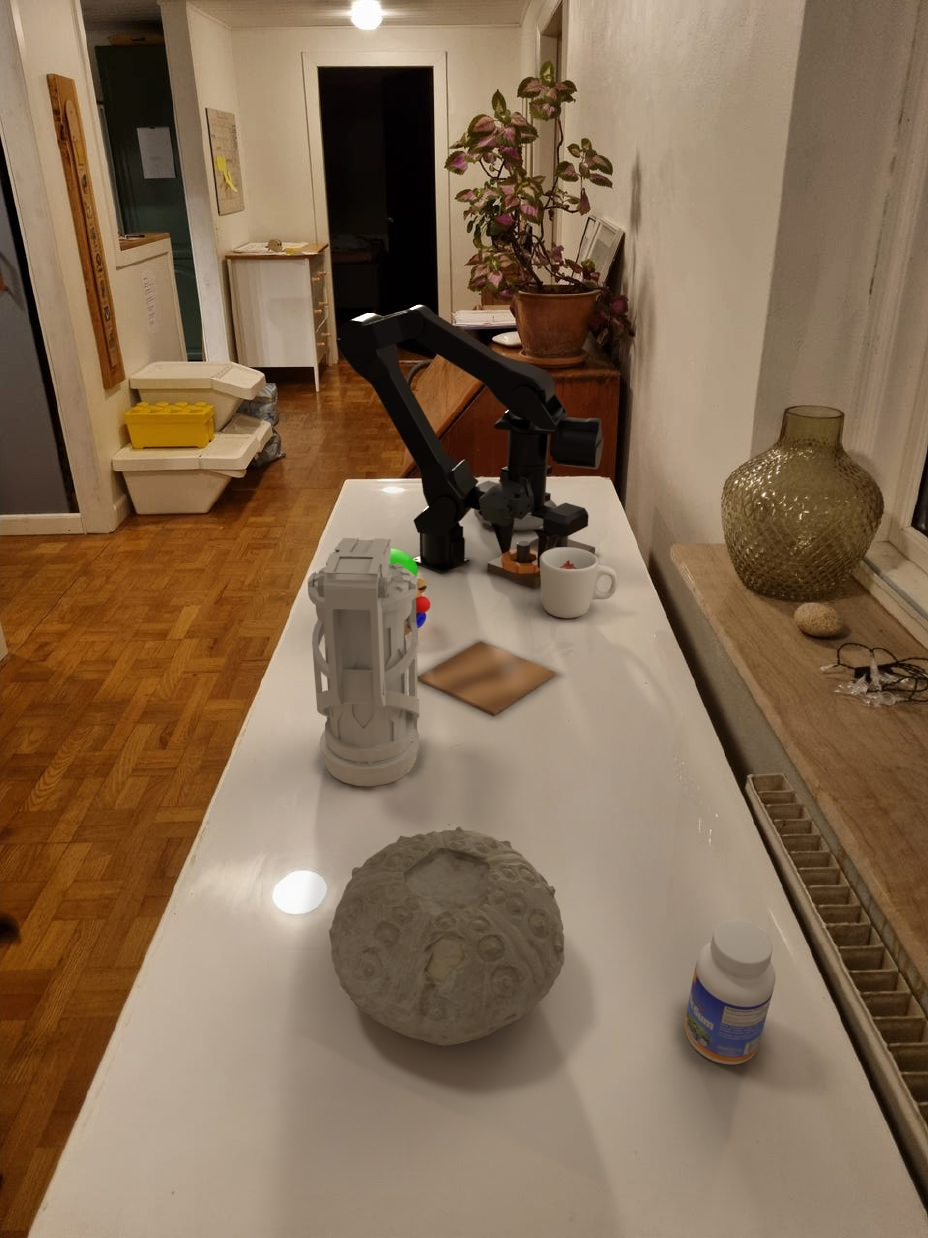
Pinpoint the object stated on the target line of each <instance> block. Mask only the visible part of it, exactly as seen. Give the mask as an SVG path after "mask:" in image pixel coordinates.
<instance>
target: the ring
mask: <svg viewBox="0 0 928 1238" xmlns="http://www.w3.org/2000/svg"><path fill="white" fill-rule="evenodd" d="M500 556H501V564H502V567H503V568H504V569H505V570H508V571H511V572H514V573H518V574H526V573H536V572H538V571H540V568H538V562H537V557H538V552H536V551H533V550H530V560H531V561H534V562H532V563H517V562H514V561H513V560H515V559H516V557H517V548H515V549H510V550H509V551H508V552H506V553H503V554H502V553H501V555H500Z"/></svg>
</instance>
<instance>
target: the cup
mask: <svg viewBox="0 0 928 1238" xmlns="http://www.w3.org/2000/svg"><path fill="white" fill-rule="evenodd" d="M540 576H541V585H540V591H541V592H540V593H541V603H542V607H543V609H544V610H545V612H546V613H547V614H550V615H551V616H554V617H556V618H562V619H574V618H578V617H581V616H583V615H585V614H586V613H587V612H588V611H589V609H590V606H591V604H592V602H593V601H595V600H608V599H610V598H612V597H613V596H614V595H615V593H616V591H617V590H618V589H617V588H618V584H619V583H618V582H619V580H618V574H617V573H616V570H615V569H613V568H611V567H609V566H606V565H601V564H600V563H599V558H598V557H597V556H596V554H595V555H594V554H593V553H591V552H589V551H586V550H583V549H579V548H571V547H560V548H553V549H550V550H547V551H545V552H544V553H543V554H542V555H541V556H540ZM602 576H608V577H610V580H611V584H610V586H609V588H608V589H607V590H606V591H602V590H600V589H598V586H597V584H598V581H599V579H600V578H601V577H602Z"/></svg>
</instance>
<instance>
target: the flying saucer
mask: <svg viewBox="0 0 928 1238" xmlns="http://www.w3.org/2000/svg"><path fill="white" fill-rule="evenodd" d="M545 506H548V507H552V508H554V507H556V506H558V505H557V504H556V502H554V500H552V498H550V500H549V501H547V502H545ZM479 511H480V510H475V509H473V514H474V516H475V518H476V519H477V520H479V521H480V522H482V523H484V524H486V525H488V526H490V527H492V525H491V523H490V522H489V521H485V520H484V519H483V517H482V516H481V515H479V513H478V512H479ZM542 526H543V519H541V518H538V517H534V516H531V515H528V514H527V515H526V516H525V517H524V518H523V519H522V520H520V519H517V518H515V519H514V526H513V531H531V530H533V531H534V530H536V529H538V528H540V527H542Z"/></svg>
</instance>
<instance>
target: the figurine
mask: <svg viewBox="0 0 928 1238" xmlns="http://www.w3.org/2000/svg"><path fill="white" fill-rule="evenodd" d="M413 559H414V558H412V557H411V556H410V555H409V554H408V553H406V552H405V551H402V550H401V549H398V548H391V558H390V564H393V565H394V563H398V564H401V565H402V566H403V568H405V569H408V570H409V571H410V572H411V573H412V574H414V575H415V576H417V594H416V623H417V627H418V629H420V628H421V627H422V626H423V625H424V624H425V622H426V620H427V612H428V611H429V610H430V609H431V601H430V599H429V598H428V597H426V596H424V595H423V593H424V592H425V591H426V590H427V588H428V587H427V581H426V580H425V579H424V578H422V577H418V574H419V568H418V564H416V562H415V560H413ZM409 634H411V630H410V627H409V625H408V623H407V622H406V620H405V636H406V635H409Z"/></svg>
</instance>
